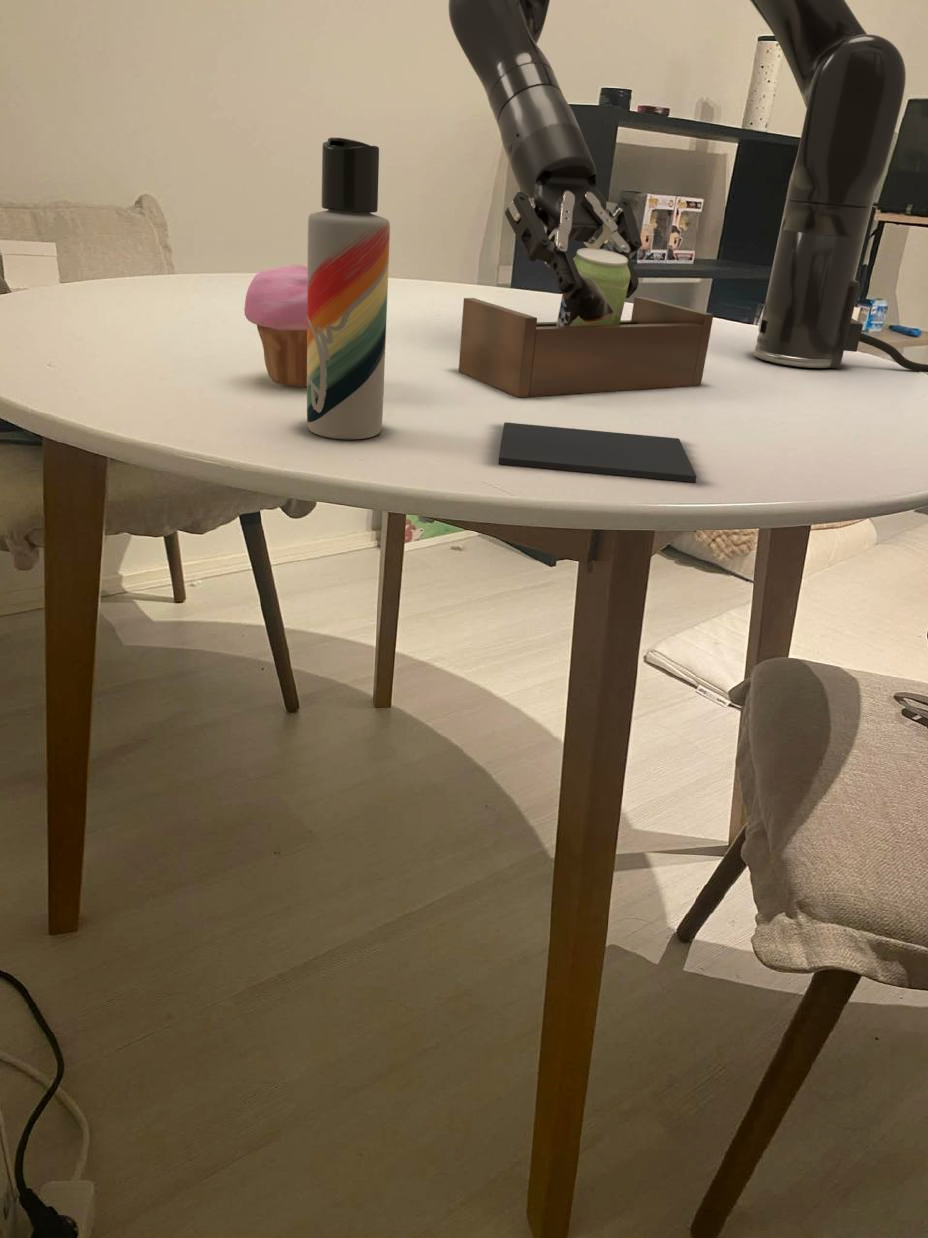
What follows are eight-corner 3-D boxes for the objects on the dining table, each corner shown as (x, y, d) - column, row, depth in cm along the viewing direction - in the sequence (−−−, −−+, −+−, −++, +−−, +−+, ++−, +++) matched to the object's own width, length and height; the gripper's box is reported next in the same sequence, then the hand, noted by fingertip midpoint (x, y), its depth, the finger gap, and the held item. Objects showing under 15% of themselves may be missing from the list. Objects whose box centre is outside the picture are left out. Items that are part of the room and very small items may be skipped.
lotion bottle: (291, 429, 74) (290, 133, 65) (338, 416, 78) (343, 137, 69) (351, 445, 71) (359, 139, 62) (396, 430, 76) (409, 143, 67)
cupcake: (349, 395, 84) (352, 274, 80) (246, 393, 83) (243, 268, 78) (339, 372, 92) (342, 260, 88) (245, 369, 90) (243, 255, 86)
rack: (458, 371, 97) (463, 297, 94) (633, 362, 108) (642, 296, 105) (518, 397, 89) (526, 317, 86) (701, 385, 100) (713, 314, 97)
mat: (678, 444, 78) (679, 438, 78) (695, 482, 69) (696, 475, 69) (503, 428, 79) (504, 421, 78) (498, 464, 70) (499, 457, 69)
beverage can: (582, 367, 103) (598, 245, 97) (629, 383, 97) (648, 255, 92) (534, 370, 99) (548, 244, 94) (580, 387, 94) (598, 254, 89)
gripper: (501, 114, 90) (561, 267, 87) (623, 126, 97) (683, 268, 94) (468, 173, 97) (522, 318, 93) (584, 180, 104) (639, 316, 100)
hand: (602, 292), depth 93 cm, fingers closed on beverage can, 6 cm apart
